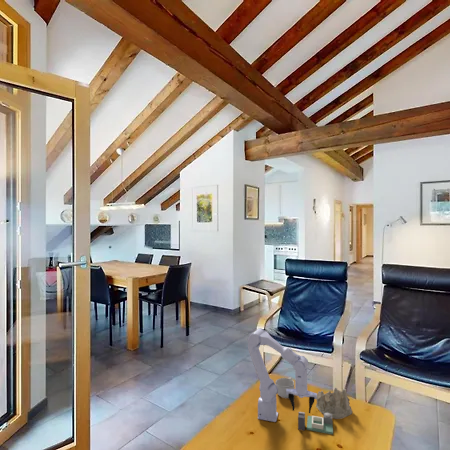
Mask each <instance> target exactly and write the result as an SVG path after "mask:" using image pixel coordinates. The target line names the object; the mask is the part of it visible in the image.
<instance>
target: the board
mask: <svg viewBox="0 0 450 450" xmlns="http://www.w3.org/2000/svg"><path fill="white" fill-rule="evenodd" d="M333 427H334V426H333V418H332V414H330V413H324V414H323V417H322V416H317V415H307V422H306V430H307V431H311V432H312V431H313V432H318V433H322V434H323V433H324V434H328V435H334V428H333Z"/></svg>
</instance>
